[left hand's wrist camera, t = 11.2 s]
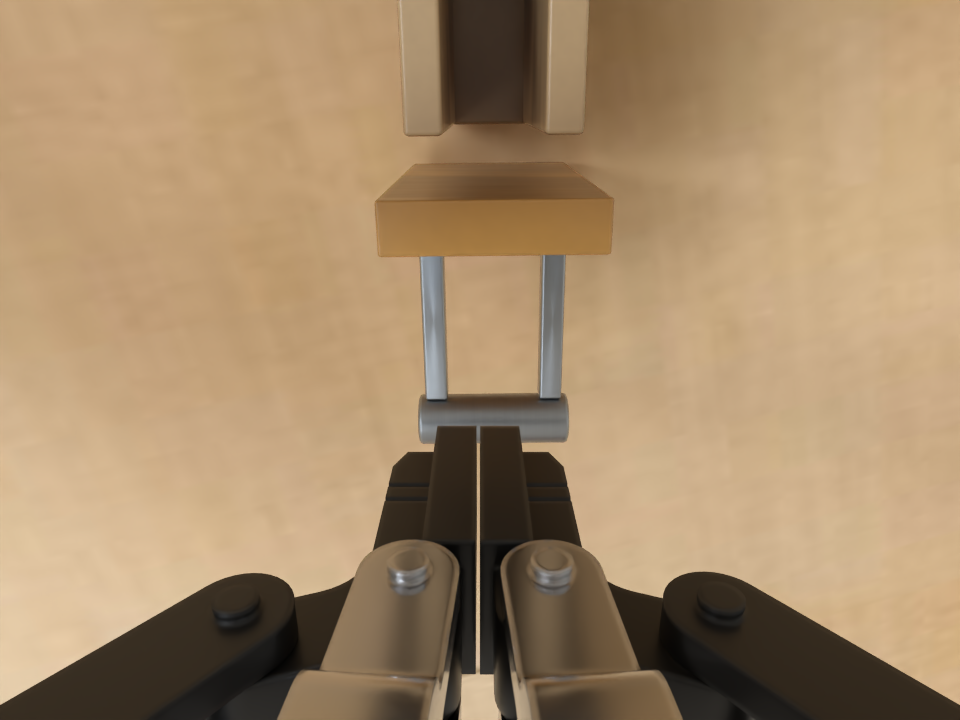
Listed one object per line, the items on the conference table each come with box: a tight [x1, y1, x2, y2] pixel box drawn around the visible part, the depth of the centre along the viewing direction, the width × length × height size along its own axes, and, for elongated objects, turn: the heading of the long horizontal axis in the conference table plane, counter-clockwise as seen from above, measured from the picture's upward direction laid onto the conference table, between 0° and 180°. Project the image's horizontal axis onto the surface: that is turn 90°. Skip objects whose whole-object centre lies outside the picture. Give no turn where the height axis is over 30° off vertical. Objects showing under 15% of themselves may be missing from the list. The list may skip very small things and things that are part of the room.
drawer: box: [375, 0, 614, 444], centre depth 17 cm, size 21×5×9 cm, turn 1°
